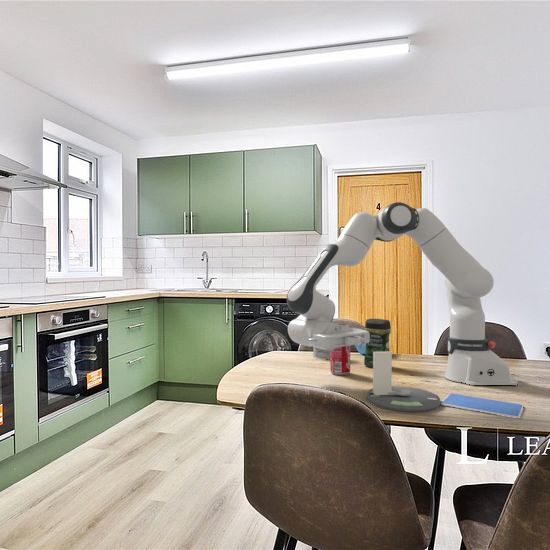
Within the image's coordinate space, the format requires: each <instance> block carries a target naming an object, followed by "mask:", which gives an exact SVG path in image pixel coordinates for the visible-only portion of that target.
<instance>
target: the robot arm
mask: <svg viewBox="0 0 550 550" xmlns="http://www.w3.org/2000/svg"><path fill="white" fill-rule="evenodd" d="M404 235H406V236H408V237H410V238H411V239H412V240H413V241H414V243H415V244H416V245H417V246H418V248H419V249H420V250H421V251H422V253H423V254H424V255H425V257H426V258H427V260H429V262H430V263H431V264H432V265H433V266H434V268H436V269H437V270H438V271H439V272H440V273H441V274H442V275H443V276H444V277H445V278H444V284H445V288H446V297H447V303H448V309H449V310H448V311H449V336H448V338H447V351H448V358H447V364H446V369H445V373H444V378H445V379H447V380H450V381H453V382H457V383H461V382H462V383H461V384H465V383H466V385H469V384H470V385H469V386H473V385H516V386H518V385H517V384H519V383H518V379H517V378H516V377H513V376H511V372H510V367H509V365H508V363H507V362H506V361H505V360H503V359H502V358H501V357H500V356H498V354H496V353H495V352H493V351H492V350H491V349H494V348H495V347H496V345H497V343H496V342H494V341H493V340H491V341H490V340H488V339H486V316H485V312H484V310H483V309H484V308H483V306H482V300H481V298H483V297H485V296H486V295H488V294H489V293H490V292H491V291H492V289H493V287H494V278H493V275H492V273H491V272H490V271H489V270H487V269H486V268H485V267H483V266H482V264H481V263H480V262H479V261H478V260H477V259H476V258H475V257H474V256H473V255H472V254H471V253H469V252H468V251H467V250H466V249H465V247H463V246H462V245H461V244H460V243H459V242H458V240H457V239H456V238H455V237H454V236H453V234H452V232H450V231H449V229H448V228H447V226H446V225H445V224H444V223H443V222H442V221H441V220H440V219H439V218H438V216H436V215H435V214H434V213H433V212H432V211H431V210H430V209H428V208H426V207H419V208H417V209H416V208H414V207H411V206H410V205H409V204H407V203H404V202H400V201H398V202H397V201H396V202H392V203H389V204H388V205H386V207H384V208H383V209H382V210H380V211H379V212H378V214H377V215H372V214H370V213H369V212H365V211H360V212H356V213H355V214H354V215H353V216H352V217H351V218H350V220H349V221H348V222H347V223H346V224H345V225H344V228H343V229H342V231H341V233H340V235H339V237H338V238H337V239H336V240H335V241H334V242H333V243H330V244H327V245H326V246H325V247H323V249H322V250H321V251H319V253H318V254H317V256H316V257H315V258H314V259H313V261H312V262H311V263H310V264H309V266H308V267H307V269H306V270H305V272H304V273H303V274H302V275H301V277H300V278H299V279H298V280H297V281H296V282H295V283H294V284H293V285H292V286H291V287H290V289H289V290H288V292H287V294H286V295H287V296H286V304H287V307H288V309H289V310H290V311H291V312H293V313H295V314H298V316H297V317H296V318H294V319H292V320H291V321H290V322H289V323H288V325H287V333H288V336H289V338H290V339H291V341H292V342H294V343H296V344H297V345H302V346H306V347H313V346H314V347H316V349H318V348H319V349H324V350H328V351H332V350H334V349H335V348H338V347H343V346H350V347H351V346H355V345H365V344H366V343H369V339H370V333H369V332H368V331H366V330H365V329H361V328H356V327H352V326H351V327H350V325H349V324H344V323H343V324H341V323H340V324H339V323H336V322H333V320H334V317H335V313H336V305H335V303H334V302H333V300H331V299H330V298H328V297H327V296H326V295H325V294H323V293H321V292H320V291H318V290H317V289H316V288H317V286H318V284H319V283H320V281H322V278H323V277H324V276H325V275H326V273H327V272H328V270H329V269H330V268H332V267H334V266H343V267H355V266H358V265H360V264H361V263H362V262H363V261H364V259H365V257H366V256H367V255H368V253H369V250H370V249H371V246H372V244H373V243H374V241H380V242H386V243H387V242H393V241H395V240H397V239H399V238H401V237H402V236H404Z"/></svg>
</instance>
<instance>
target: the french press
mask: <svg viewBox="0 0 550 550" xmlns="http://www.w3.org/2000/svg"><path fill="white" fill-rule="evenodd" d="M312 347H313V348H312V349H313V355H311V357H313V358H316V359H315V360H317V359H330V351H328V350H324V349H319V348H316V347H314V346H312Z"/></svg>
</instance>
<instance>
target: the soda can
mask: <svg viewBox="0 0 550 550" xmlns="http://www.w3.org/2000/svg"><path fill="white" fill-rule="evenodd" d="M329 366H330V368H329V369H330V373H331V374H333V375H335V376H347V375H350V372H351V345H350V346H343V347H338V348H335V349H334V350H332V351H330V363H329Z"/></svg>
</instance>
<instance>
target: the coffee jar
mask: <svg viewBox="0 0 550 550" xmlns="http://www.w3.org/2000/svg"><path fill="white" fill-rule="evenodd" d="M391 327H392V325H391V321H390V320H389V319H382V318H369V319H366V320H365V324H364V330H366V331H368V332H369V333H370V339H369V343H366V350H365V355H364V359H363V361H364V362H363V364H364V366H365V367H367V368H372V369H373V352H388V351H390V334H391V333H392V332H391V331H392V328H391ZM390 332H391V333H390Z"/></svg>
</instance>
